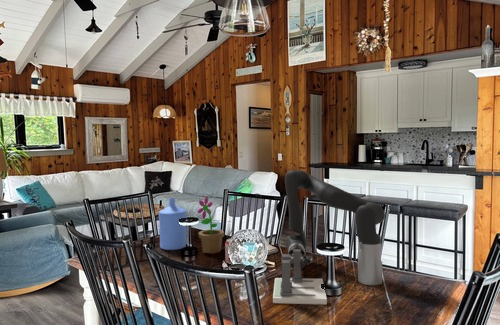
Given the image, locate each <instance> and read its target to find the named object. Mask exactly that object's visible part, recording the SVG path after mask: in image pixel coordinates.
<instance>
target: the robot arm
mask: <svg viewBox="0 0 500 325" xmlns="http://www.w3.org/2000/svg"><path fill="white" fill-rule="evenodd" d="M284 186H285V192H286V198H287V205H288V229H289V230H290V231H291V232H295V233H297V234H298V235H288V236H286V238H285V244H284V245H285V247H286V249H287V251H288V252H287V254H290V268H292V269H294V262H293V249H300V250H301V269H303V268H305V266H309V265H310V264H311V263H312V262H313V256H312V255H311V254H310V255H309V256H307V255H306V251H305V250H306V249H307V246H308V241H307V238H306V235H305V229H304V213H303V209H302V206H301V204H300V202H299V199H298V198H299V197H298V189H299V190H300V189H303V190H306V191H308V192H310V193H312V194H313V195H315V197H316V198H317V199H318V200H319V201H320V202H321V203H322V204H325V205H327V206H329V207H331V208H334V209H338V210H342V211H348V212H351V213H354V214H355V219H354V220H355V233H356V236H357V271H358V272H357V274H358V275H357V277H358V279H357V280H358V282H359V284H363V285H366V286H378V285H382V284H383V261H382V237H381V235H380V234H378V233H377V225H379V224H380V223H382V222H383V221H384V220H385V217H386V213H385V210H384V208H382V206H381V205H380V204H378V203H375V202H372V201H370V200H366V199H363V198H360V197H359V196H356V195H354V194H352V193H350V192H348V191H345V190H344V189H341V187H340V188H339V187H338V186H335V185H333V184H330V183H329V182H325V181H323V180H320V179H318V178H316V177H314V176H313V175H311V174H310V173H308V172H306V171H303V170H301V169H300V170H299V169H298V170H297V169H296V170H295V169H294V170H289V171H287V172H286V174H285V175H284Z"/></svg>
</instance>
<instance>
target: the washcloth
mask: <svg viewBox="0 0 500 325" xmlns="http://www.w3.org/2000/svg"><path fill="white" fill-rule="evenodd" d="M267 245H268V255H267V256H269V255H272V254H276V253H278V252H279V251H278V248H277V247H275V246H272V244H267Z"/></svg>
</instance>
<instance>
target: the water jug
mask: <svg viewBox="0 0 500 325" xmlns="http://www.w3.org/2000/svg"><path fill="white" fill-rule="evenodd" d="M175 200H176V199H175V198H169V199H168V201H169V205H168V206H166V207H165V208H163V209H161V210H159V212H158V222H159V224H158V225H159V228H158V229H159V230H158V231H159V247H160V249H163V250H165V251H176V250H182V249H184V248H186V247H187V246H186V244H187V245H188V234H187V232H188V228H187V225H186V226H182V225H180V224H179V222H178V221H179V219H181V218H186V219H187V210H186V209H185V208H182V207H180V206H177V205H176V201H175Z"/></svg>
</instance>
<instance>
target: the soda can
mask: <svg viewBox="0 0 500 325" xmlns="http://www.w3.org/2000/svg"><path fill="white" fill-rule="evenodd" d="M230 240H231V238H228V239H226V241H225V243H224V245H225V246H224V250H225V252H224V253H225V254H224V256H225V257H224V258H225V263H226V264H227V263H229V264H231V261H230V258H229V254H228V246H229V242H230Z"/></svg>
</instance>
